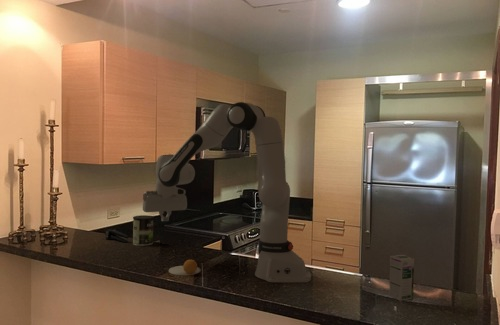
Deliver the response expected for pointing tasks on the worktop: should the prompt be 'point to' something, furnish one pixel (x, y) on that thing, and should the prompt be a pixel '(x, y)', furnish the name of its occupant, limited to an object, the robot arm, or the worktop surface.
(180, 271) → the disc
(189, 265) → the ball
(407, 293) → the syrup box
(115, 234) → the can opener
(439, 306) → the worktop surface
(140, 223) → the coffee can
